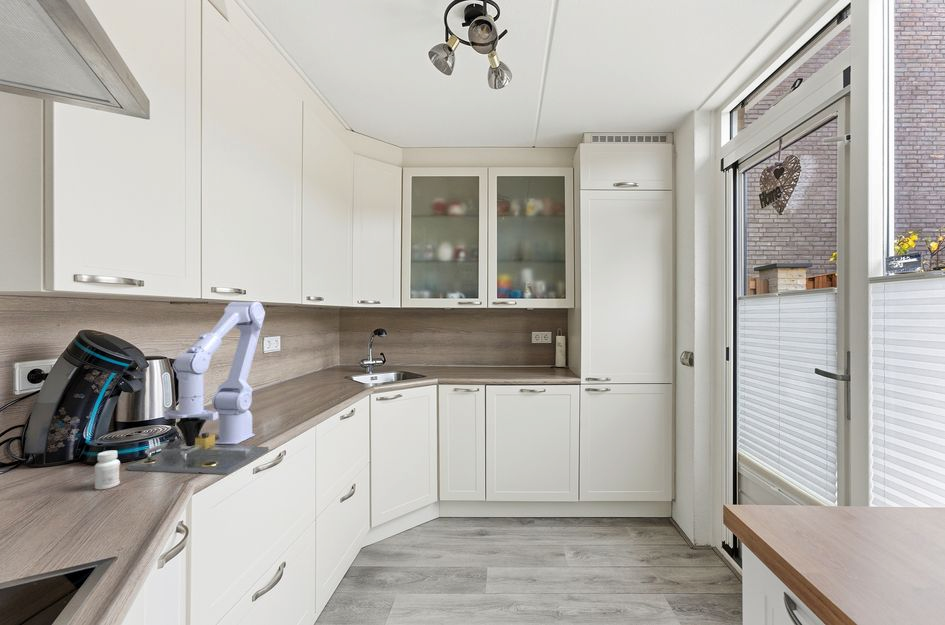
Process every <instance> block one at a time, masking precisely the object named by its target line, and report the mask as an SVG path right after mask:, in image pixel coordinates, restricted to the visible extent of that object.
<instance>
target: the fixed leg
mask: <svg viewBox="0 0 945 625" xmlns="http://www.w3.org/2000/svg"><path fill="white" fill-rule="evenodd" d="M181 444H182V442H181V438H176V437H169V438H168V440H165V441H163V442H162V444H158V445H156V446H154V447H150V448H148V449H145V450H144V451H145V452H144V454H146V455H147V458H148V460H151V459H152V456H153V455H152V454H153V452H156V451H158V450H161V449H162V448H163V449H173V448H175V447H178V446H180V445H181Z"/></svg>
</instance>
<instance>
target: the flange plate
mask: <svg viewBox="0 0 945 625" xmlns="http://www.w3.org/2000/svg"><path fill="white" fill-rule="evenodd" d="M180 446H186V443H181V445H180ZM193 446H195V445H193ZM193 446H189V447H193ZM212 447H217V448H246V449H250V454H249V455H247V456H221V455H195V454H187V461H185V462H183V455H181V454H168V453H161V452H158V453H157V454H154V455H152V459H151V460H148V457H146V458H143V459H141V460H138V461H136V462H134V463H132V464H128V471H140V472H161V473H163V472H164V473H185V474H186V473H189V474H191V473H192V474H210V475H212V474H213V475H229V474H230V473H233V472H234V471H236V470H237V469H240V468H241V467H243V466H245V465H246V464H248V463H250V462H252V461H253V460H256V459H257V458H259V457H261V456H262V455H264V454H266V453H268V452H269V446H255V445H254V446H252V445H251V446H249V445H248V446H247V445H246V446H245V445H227V444H215V445H214V446H212ZM199 472H201V473H199ZM202 472H203V473H202Z"/></svg>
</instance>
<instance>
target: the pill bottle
mask: <svg viewBox="0 0 945 625" xmlns="http://www.w3.org/2000/svg"><path fill="white" fill-rule="evenodd" d="M96 460H97V463H96V464H95V465H94V488H95V490H106V489H107V490H108V489H111V488H114V487H117V486H118V485H120V483H121V461H120V460H119V459H118V450H105V451H102V452H99V453H98V454H97V459H96Z"/></svg>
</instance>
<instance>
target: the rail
mask: <svg viewBox="0 0 945 625" xmlns="http://www.w3.org/2000/svg"><path fill="white" fill-rule="evenodd" d="M188 448H191V447H189V446H178V447H175V448H173V449H163V448H162V449H160V453H168V454H181V451H183V450H186V449H188ZM187 454H195V455H221V456H247V455H249V454H250V449H246V448H217V447H210V448H208V449H197V450H194V451H192V452H190V453H187Z"/></svg>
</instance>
